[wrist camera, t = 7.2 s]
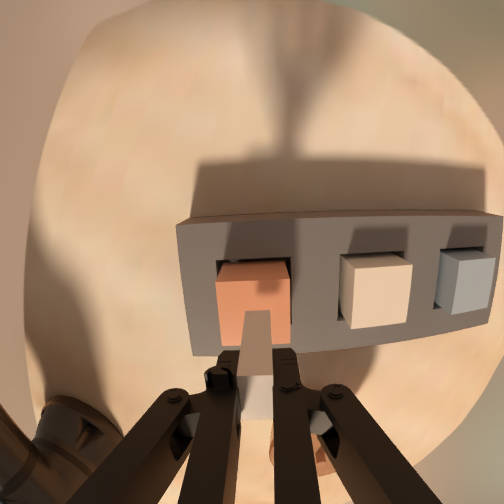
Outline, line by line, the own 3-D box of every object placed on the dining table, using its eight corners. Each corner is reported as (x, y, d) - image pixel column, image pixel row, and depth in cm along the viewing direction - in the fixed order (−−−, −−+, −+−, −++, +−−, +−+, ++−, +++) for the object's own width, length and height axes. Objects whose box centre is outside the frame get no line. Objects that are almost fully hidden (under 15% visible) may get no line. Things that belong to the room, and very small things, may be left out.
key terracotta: (228, 317, 26) (222, 345, 21) (223, 262, 25) (215, 282, 20) (285, 314, 26) (290, 343, 21) (283, 259, 25) (289, 278, 20)
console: (202, 331, 31) (193, 356, 26) (189, 217, 28) (175, 225, 23) (465, 307, 30) (487, 323, 25) (476, 210, 27) (503, 216, 22)
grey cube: (426, 295, 27) (451, 314, 22) (431, 248, 26) (459, 260, 21) (461, 290, 27) (487, 307, 22) (466, 246, 26) (495, 257, 21)
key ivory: (336, 304, 27) (351, 329, 22) (338, 253, 26) (354, 268, 21) (384, 300, 27) (405, 322, 22) (388, 250, 26) (412, 264, 21)
